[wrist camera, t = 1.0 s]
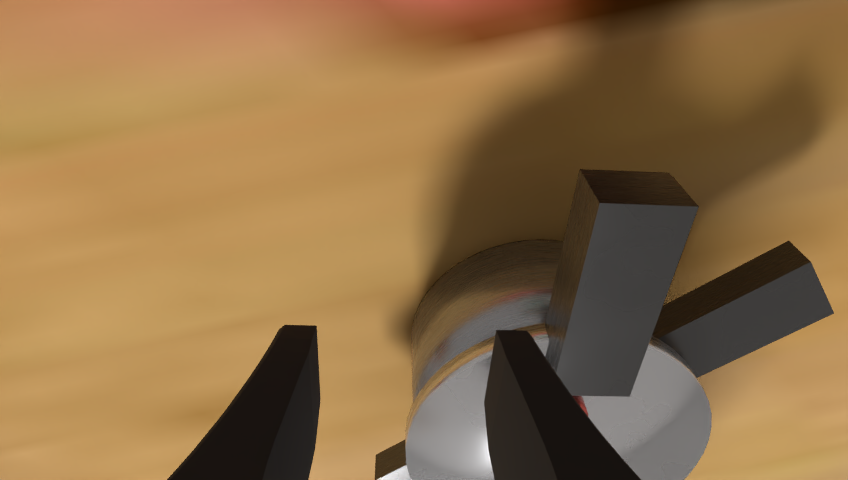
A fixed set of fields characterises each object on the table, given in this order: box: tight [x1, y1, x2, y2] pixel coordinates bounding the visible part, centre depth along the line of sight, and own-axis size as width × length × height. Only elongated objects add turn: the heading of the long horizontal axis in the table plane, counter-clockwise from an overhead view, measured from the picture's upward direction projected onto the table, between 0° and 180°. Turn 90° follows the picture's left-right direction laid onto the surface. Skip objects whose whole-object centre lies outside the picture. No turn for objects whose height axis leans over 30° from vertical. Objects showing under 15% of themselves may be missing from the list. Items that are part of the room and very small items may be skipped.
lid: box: [405, 169, 711, 480], centre depth 19 cm, size 16×11×2 cm
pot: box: [375, 240, 834, 480], centre depth 23 cm, size 17×10×5 cm, turn 127°
